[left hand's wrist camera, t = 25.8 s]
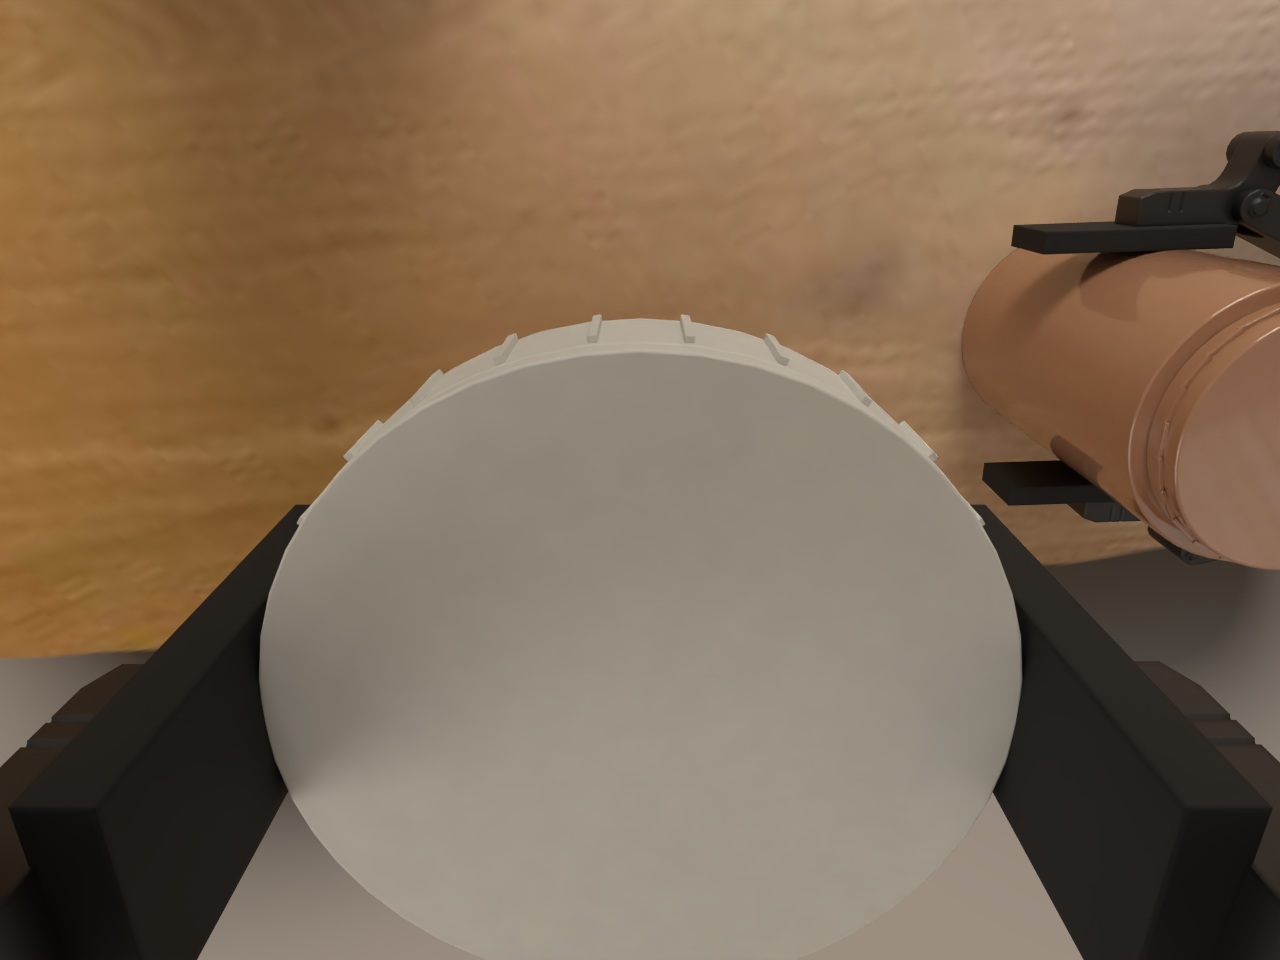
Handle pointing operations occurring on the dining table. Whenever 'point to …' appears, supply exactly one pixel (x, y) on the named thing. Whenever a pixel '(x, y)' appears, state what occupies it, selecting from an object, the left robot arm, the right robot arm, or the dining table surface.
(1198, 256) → the jar
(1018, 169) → the dining table surface
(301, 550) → the lid
